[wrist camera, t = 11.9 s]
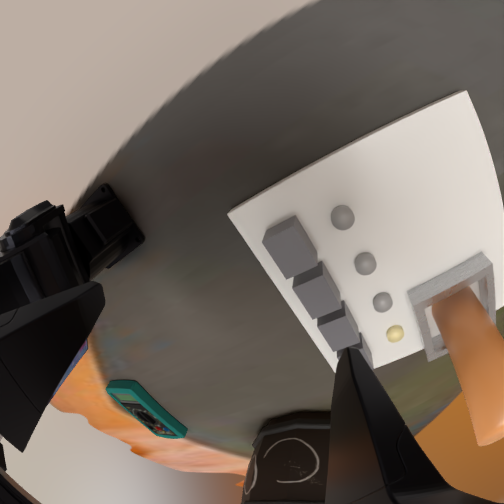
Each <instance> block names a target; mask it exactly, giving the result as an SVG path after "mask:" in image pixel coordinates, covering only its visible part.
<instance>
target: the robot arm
mask: <svg viewBox="0 0 504 504" xmlns="http://www.w3.org/2000/svg"><path fill="white" fill-rule="evenodd" d="M104 188H105V190H104ZM64 211H65V209H64V206H63V205H59V206H55V205H54V206H53V205H52V204H50V202H49V201H47V200H46V201H44V202H42V203H39V204H38V205H36V206H34V207H32V208H30V209H28V210H26V211H25V212H23V213H22V214H20V215H19V216H17V217H16V218H14V219H13V220H11V223H10V226H9V229H8V230H7V231H6V232H5V233H4V234H3V236H1V237H0V440H1V439H2V437H4V438H5V439H6V440H7V441H9V442H10V443H11V444H12V445H13V446H14V447H16V448H17V449H18V450H19V451H21V452H23V451H24V450H25V448H26V446H27V443H28V441H29V439H30V437H31V435H32V433H33V431H34V429H35V427H36V425H37V423H38V421H39V419H40V417H41V416H42V414H43V412H44V410H45V408H46V406H47V404H48V402H49V401H50V399H51V397H52V395H53V393H54V392H55V390H56V388H57V386H58V385H59V383H60V381H61V380H62V378H63V376H64V375H65V373H66V371H67V370H68V368H69V366H70V365H71V363H72V361H73V360H74V358H75V357H76V355H77V353H78V352H79V350H80V349H81V347H82V345H83V344H84V342H85V341H86V339H87V338H88V336H89V334H90V332H91V330H92V329H93V327H94V325H95V323H96V321H97V319H98V317H99V315H100V313H101V312H102V310H103V308H104V306H105V297H104V292H103V287H102V285H101V284H100V283H97V282H94V281H91V280H92V279H93V278H94V277H95V276H96V275H98V274H99V273H100V272H101V271H102V270H103V269H104V268H108V269H109V268H110V267H112V266H113V265H114V264H115V263H117V262H118V261H119V260H121V259H122V258H123V257H125V256H126V255H127V254H128V253H130V252H131V251H132V250H134V249H135V248H136V247H138V246H139V245H141V244H142V243H143V242H144V236H143V235H142V233H141V232H140V230H139V229H138V228H137V226H136V225H135V223H134V222H133V220H132V219H131V218H130V216H129V215H128V213H127V212H126V210H125V209H124V207H123V206H122V205H121V203H120V202H119V200H118V199H117V197H116V196H115V194H114V193H113V191H112V190H111V188H110V187H109V185H108V184H103V185H101V186H100V187H99V188H98V189H97V190H96V191H95V192H94V193H93V195H92V196H91V197H90V198H89V199H88V200H87V201H86V203H85V204H84V205H83V206H82V207H81V208H80V209H79V210H77V211H75V212H73V213H71V214H70V215H68V216H65V213H64ZM137 237H138V238H139V239H140V240H138V238H137ZM6 470H7V468H6V463H5V457H4V451H3V445H2V444H1V443H0V504H41V503H40V502H39V501H37V500H36V499H35V498H34V497H32V496H31V495H30V494H29V493H28V492H26V491H25V490H24V489H23V488H22V487H21V486H20V485H18V484H17V483H16V482H15V481H14V480H13V479H12V478H11V477H10V476H9V475H8V474H7V473H6V472H5V471H6ZM325 504H504V503H496V502H492V501H489V500H486V499H483V498H480V497H477V496H474V495H471V494H468V493H465V492H463V491H460V490H457V489H455V488H454V487H452V486H451V485H449V484H448V483H447V482H446V481H445V480H444V478H443V477H442V476H441V474H440V473H439V472H438V470H437V469H436V468H435V466H434V465H433V464H432V462H431V461H430V460H429V458H428V457H427V456H426V454H425V453H424V451H423V450H422V449H421V447H420V446H419V444H418V443H417V441H416V440H415V438H414V436H413V435H412V433H411V432H410V430H409V428H408V427H407V425H405V422H404V420H403V419H402V417H401V415H400V414H399V412H398V410H397V409H396V407H395V405H394V404H393V402H392V401H391V399H390V397H389V396H388V394H387V393H386V391H385V389H384V388H383V386H382V385H381V383H380V381H379V380H378V378H377V377H376V375H375V374H374V372H373V370H372V369H371V367H370V366H369V364H368V363H367V361H366V360H365V358H364V356H363V355H362V353H361V352H360V350H359V349H358V348H354V347H346V348H345V349H344V351H343V353H342V355H341V357H340V359H339V361H338V363H337V367H336V375H335V383H334V390H333V397H332V405H331V426H330V447H329V463H328V476H327V487H326V497H325Z"/></svg>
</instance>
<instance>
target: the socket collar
mask: <svg viewBox="0 0 504 504" xmlns="http://www.w3.org/2000/svg"><path fill="white" fill-rule="evenodd" d="M476 281H478V283H479V292H480V302H481V304H482V305H483V307H484V308H485V310H486V311H487V313H488V314H489V316H490V318H491V319H492V321H493V322H494V324H495V326H496V301H495V283H494V271H493V263H492V262H491V261H490V260H489V259H488V258H487V257H486V256H485V255H484V254H483V252H482V251H481V252H480V253H478V254H476V255H475V256H473V257H471V258H469V259H468V260H466V261H464V262H462V263H460V264H459V265H457V266H455V267H453V268H451V269H449V270H448V271H446V272H444V273H442V274H440V275H438V276H436V277H434V278H432V279H430V280H428V281H426V282H424V283H422V284H420V285H418V286H416V287H414V288H412V289H410V290H408V291H407V294H408V297H409V300H410V303H411V306H412V309H413V312H414V315H415V318H416V322H417V325H418V329H419V332H420V336H421V339H422V343H423V347H424V350H425V353H426V356H427V359H428V362H430V361H432V360H434V359H436V358H438V357H441V356H443V355H445V354H447V353H448V350H447V348H446V345H445V343H444V341H443V338H442V336H441V334H439V335H437V336H435V337H433V338H432V337H431V333H430V329H429V325H428V321H427V317H426V314H425V310H424V309H425V308H427V307H429V306H431V305H433V304H435V303H437V302H439V301H441V300H443V299H445V298H447V297H449V296H451V295H453V294H455V293H457V292H458V291H460V290H462V289H464V288H466V287H468V286H469V285H471V284H473V283H475V282H476Z"/></svg>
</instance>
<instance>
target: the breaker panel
mask: <svg viewBox="0 0 504 504" xmlns="http://www.w3.org/2000/svg"><path fill="white" fill-rule="evenodd" d="M227 215H228V216H229V218H230V219H231V221H232V222H233V224H234V225H235V227H236V228H237V230H238V231H239V233H240V234H241V235H242V237H243V238H244V240H245V241H246V243H247V244H248V246H249V247H250V249H251V250H252V252H253V253H254V254H255V256H256V257H257V259H258V260H259V262H260V263H261V265H262V266H263V268H264V269H265V271H266V272H267V274H268V275H269V276H270V278H271V279H272V281H273V282H274V284H275V285H276V287H277V288H278V290H279V291H280V293H281V294H282V295H283V297H284V298H285V300H286V301H287V303H288V304H289V306H290V307H291V309H292V310H293V312H294V313H295V315H296V316H297V317H298V319H299V320H300V322H301V323H302V325H303V326H304V328H305V329H306V331H307V332H308V334H309V335H310V336H311V338H312V339H313V341H314V342H315V344H316V345H317V347H318V348H319V350H320V351H321V353H322V354H323V356H324V357H325V358H326V360H327V361H328V363H329V364H330V366H331V367H332V369H333V370H334V372H335V373H336V367H337V363H338V361H339V359H340V357H341V355H342V353H343V351H344V349H345V348H346V347H354V348H358V349H359V350H360V352H361V353H362V355H363V356H364V358H365V360H366V361H367V363H368V364H369V366H370V367H371V369H372V370H373V369H374V368H377V367H380V366H382V365H385V364H388V363H390V362H393V361H395V360H398V359H400V358H403V357H405V356H407V355H410V354H412V353H415V352H417V351H419V350H421V349H424V347H423V343H422V339H421V336H420V332H419V329H418V325H417V322H416V318H415V315H414V312H413V309H412V306H411V303H410V300H409V297H408V294H407V291H408V290H410V289H412V288H414V287H416V286H418V285H420V284H422V283H424V282H426V281H428V280H430V279H432V278H434V277H436V276H438V275H440V274H442V273H444V272H446V271H448V270H449V269H451V268H453V267H455V266H457V265H459V264H460V263H462V262H464V261H466V260H468V259H469V258H471V257H473V256H475V255H476V254H478V253H480V252H481V251H482V252H483V254H484V255H485V256H486V257H487V258H488V259H489V260H490V261H491V262H492V263H493V271H494V283H495V301H496V310H497V309H499V308H501V307H502V306H504V208H503V203H502V198H501V193H500V189H499V184H498V180H497V176H496V172H495V168H494V164H493V161H492V157H491V154H490V151H489V148H488V145H487V141H486V138H485V136H484V133H483V130H482V127H481V124H480V122H479V119H478V117H477V114H476V112H475V109H474V107H473V104H472V102H471V100H470V97H469V95H468V93H467V91H466V90H465V91H458V92H455V93H453V94H451V95H448V96H446V97H444V98H442V99H439V100H437V101H435V102H433V103H431V104H428V105H426V106H424V107H422V108H420V109H417V110H415V111H413V112H411V113H409V114H407V115H405V116H403V117H401V118H399V119H396V120H394V121H392V122H390V123H388V124H386V125H384V126H382V127H380V128H378V129H376V130H374V131H372V132H370V133H368V134H366V135H364V136H362V137H360V138H358V139H356V140H354V141H352V142H351V143H349V144H347V145H345V146H343V147H341V148H339V149H337V150H335V151H333V152H331V153H330V154H328V155H326V156H324V157H322V158H320V159H318V160H317V161H315V162H313V163H311V164H309V165H307V166H306V167H304V168H302V169H300V170H298V171H297V172H295V173H293V174H291V175H289V176H288V177H286V178H284V179H282V180H281V181H279V182H277V183H275V184H274V185H272V186H270V187H268V188H267V189H265V190H263V191H261V192H260V193H258V194H256V195H255V196H253V197H251V198H249V199H248V200H246V201H244V202H243V203H241V204H239V205H238V206H236V207H234V208H233V209H231V210H230V212H229V213H228V214H227ZM469 287H470V288H471V289H472V291H473V292H474V294H475V295H476V296H477V298H478V299H479V301H480V292H479V283H478V281H476V282H475V283H473V284H471V285H469ZM432 306H433V305H431V306H429V307H427V308H425V309H424V310H425V314H426V317H427V321H428V325H429V329H430V333H431V337H432V338H433V337H435V336H437V335H439V334H440V331H439V329H438V327H437V325H436V323H435V320H434V318H433V316H432Z"/></svg>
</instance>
